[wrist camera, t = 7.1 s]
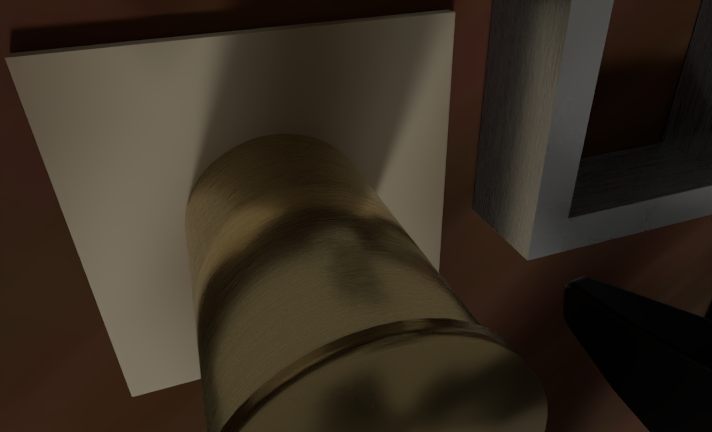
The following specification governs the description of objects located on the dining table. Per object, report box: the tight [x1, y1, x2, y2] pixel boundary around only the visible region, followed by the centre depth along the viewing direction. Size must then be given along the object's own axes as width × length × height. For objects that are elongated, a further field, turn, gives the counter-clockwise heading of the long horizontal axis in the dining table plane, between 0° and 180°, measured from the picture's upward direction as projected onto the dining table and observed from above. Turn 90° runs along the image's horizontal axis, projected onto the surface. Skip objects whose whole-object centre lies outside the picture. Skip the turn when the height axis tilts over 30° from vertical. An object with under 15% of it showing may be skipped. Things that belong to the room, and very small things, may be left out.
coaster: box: [5, 10, 455, 397], centre depth 14 cm, size 10×10×1 cm
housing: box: [473, 0, 712, 260], centre depth 15 cm, size 8×8×3 cm
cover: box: [185, 134, 548, 432], centre depth 11 cm, size 5×5×8 cm
